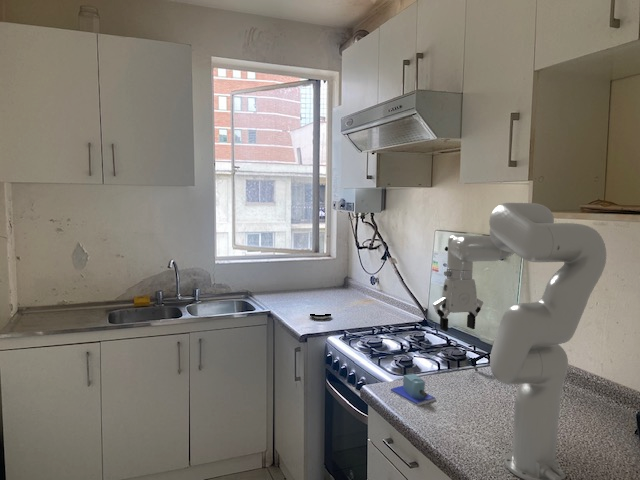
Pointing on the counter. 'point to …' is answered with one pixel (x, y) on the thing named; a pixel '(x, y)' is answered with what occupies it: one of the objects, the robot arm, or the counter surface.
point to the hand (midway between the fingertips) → (457, 329)
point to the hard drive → (406, 396)
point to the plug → (414, 386)
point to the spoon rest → (320, 317)
